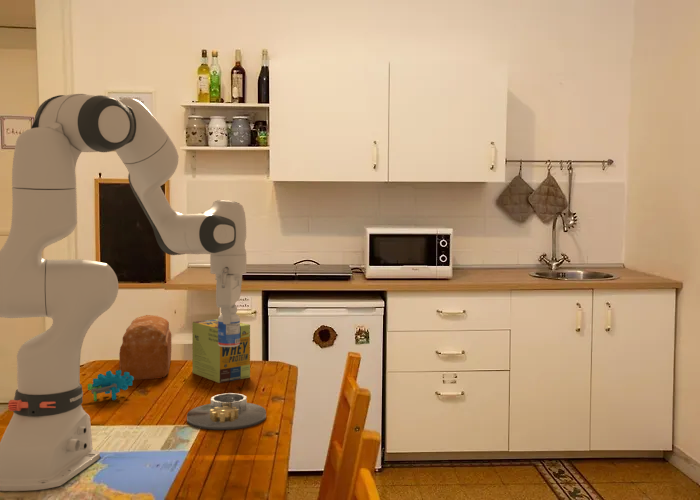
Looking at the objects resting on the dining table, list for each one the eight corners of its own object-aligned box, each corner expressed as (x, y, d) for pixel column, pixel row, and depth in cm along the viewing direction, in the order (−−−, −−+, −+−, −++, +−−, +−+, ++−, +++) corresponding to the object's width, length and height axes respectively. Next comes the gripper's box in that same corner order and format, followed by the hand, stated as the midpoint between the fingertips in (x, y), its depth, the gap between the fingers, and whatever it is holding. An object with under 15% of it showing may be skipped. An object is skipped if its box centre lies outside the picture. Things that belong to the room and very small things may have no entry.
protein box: (219, 383, 190) (219, 328, 189) (191, 373, 201) (191, 321, 200) (251, 377, 197) (251, 324, 196) (222, 368, 208) (222, 318, 208)
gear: (137, 383, 179) (128, 364, 172) (138, 403, 176) (130, 384, 168) (93, 393, 177) (82, 374, 170) (94, 413, 174) (83, 395, 166)
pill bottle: (215, 344, 172) (215, 305, 171) (236, 342, 174) (236, 304, 173) (221, 348, 167) (220, 308, 166) (242, 346, 169) (242, 307, 169)
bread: (117, 381, 192) (117, 326, 191) (127, 361, 218) (127, 312, 217) (168, 379, 195) (168, 324, 194) (172, 359, 220) (172, 311, 220)
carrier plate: (262, 429, 150) (262, 413, 150) (179, 430, 149) (179, 413, 149) (268, 406, 168) (268, 391, 168) (194, 406, 167) (194, 392, 167)
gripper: (236, 268, 159) (236, 327, 160) (245, 264, 180) (245, 316, 180) (209, 268, 159) (209, 328, 159) (221, 264, 179) (221, 316, 180)
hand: (228, 322), depth 170 cm, fingers closed on pill bottle, 5 cm apart
